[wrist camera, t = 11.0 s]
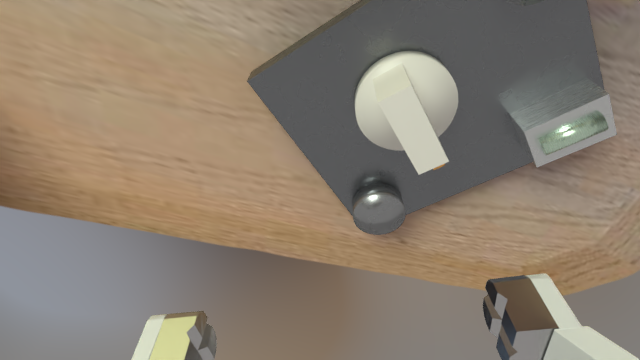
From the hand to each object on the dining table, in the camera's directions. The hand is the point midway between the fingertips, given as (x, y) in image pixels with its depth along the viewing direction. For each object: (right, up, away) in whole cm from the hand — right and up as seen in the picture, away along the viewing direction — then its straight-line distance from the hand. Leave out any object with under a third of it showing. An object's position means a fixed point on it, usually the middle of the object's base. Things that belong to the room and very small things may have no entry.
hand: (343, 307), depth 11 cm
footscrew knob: (+7, +9, +21) cm, 24 cm away
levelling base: (+9, +11, +22) cm, 26 cm away
